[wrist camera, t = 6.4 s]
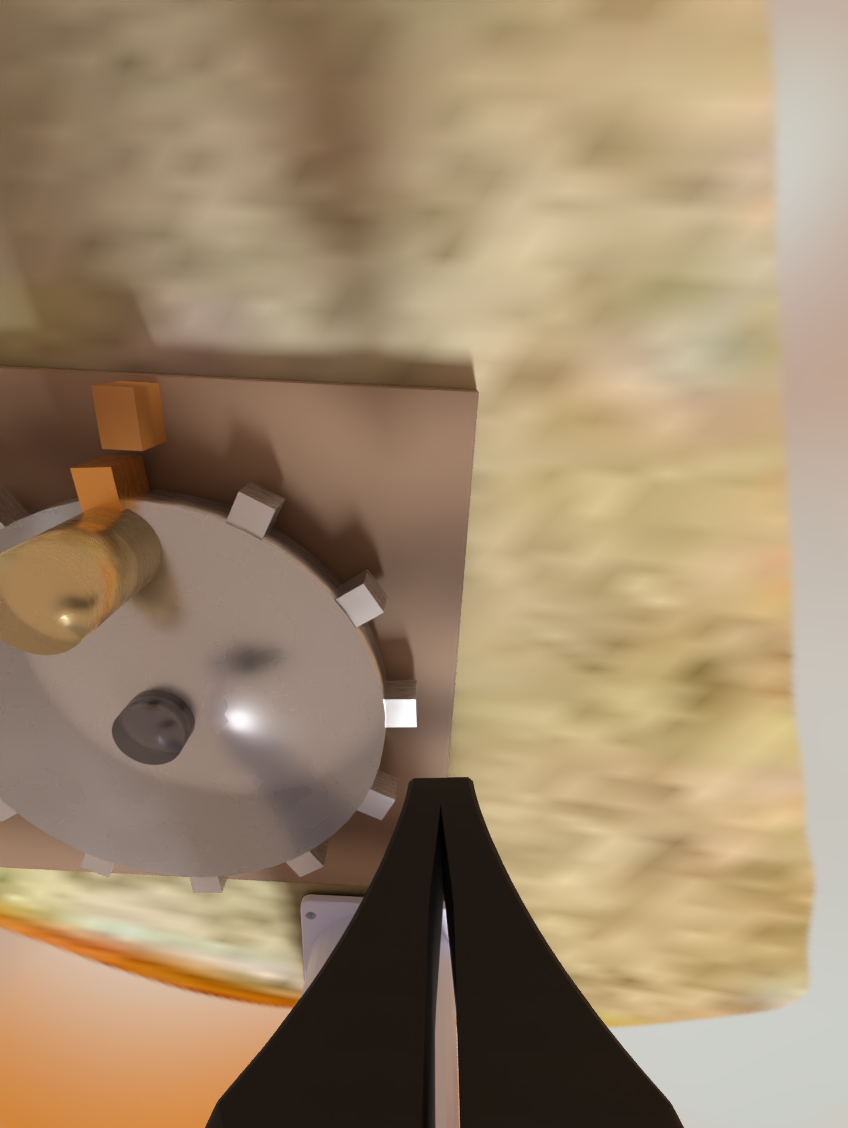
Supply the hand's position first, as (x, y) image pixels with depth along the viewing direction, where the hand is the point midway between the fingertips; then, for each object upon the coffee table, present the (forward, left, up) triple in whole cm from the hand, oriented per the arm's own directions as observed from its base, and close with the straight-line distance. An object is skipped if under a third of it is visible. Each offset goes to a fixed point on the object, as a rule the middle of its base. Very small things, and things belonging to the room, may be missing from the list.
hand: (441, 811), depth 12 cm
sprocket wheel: (-3, +10, -8) cm, 13 cm away
